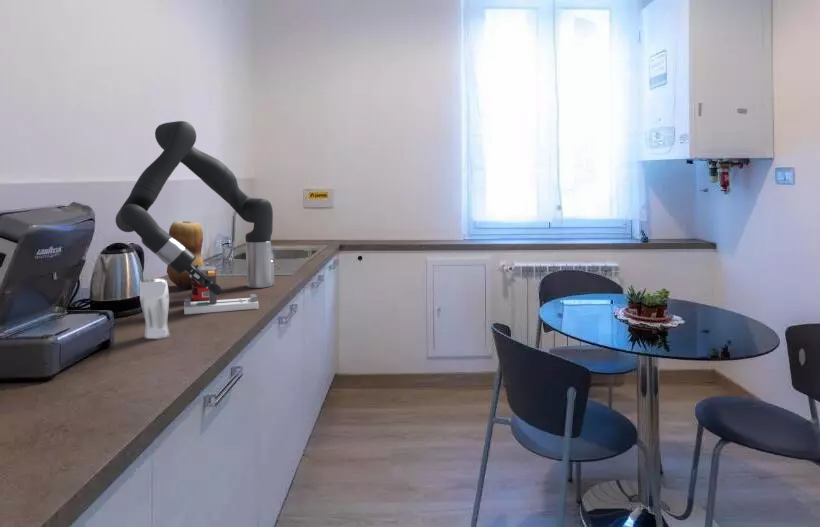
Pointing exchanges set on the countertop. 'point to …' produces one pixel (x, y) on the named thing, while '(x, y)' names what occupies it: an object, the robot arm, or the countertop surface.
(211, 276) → the post
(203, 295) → the canned food
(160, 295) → the beer glass
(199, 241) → the butternut squash
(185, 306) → the white slider base
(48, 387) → the countertop surface
